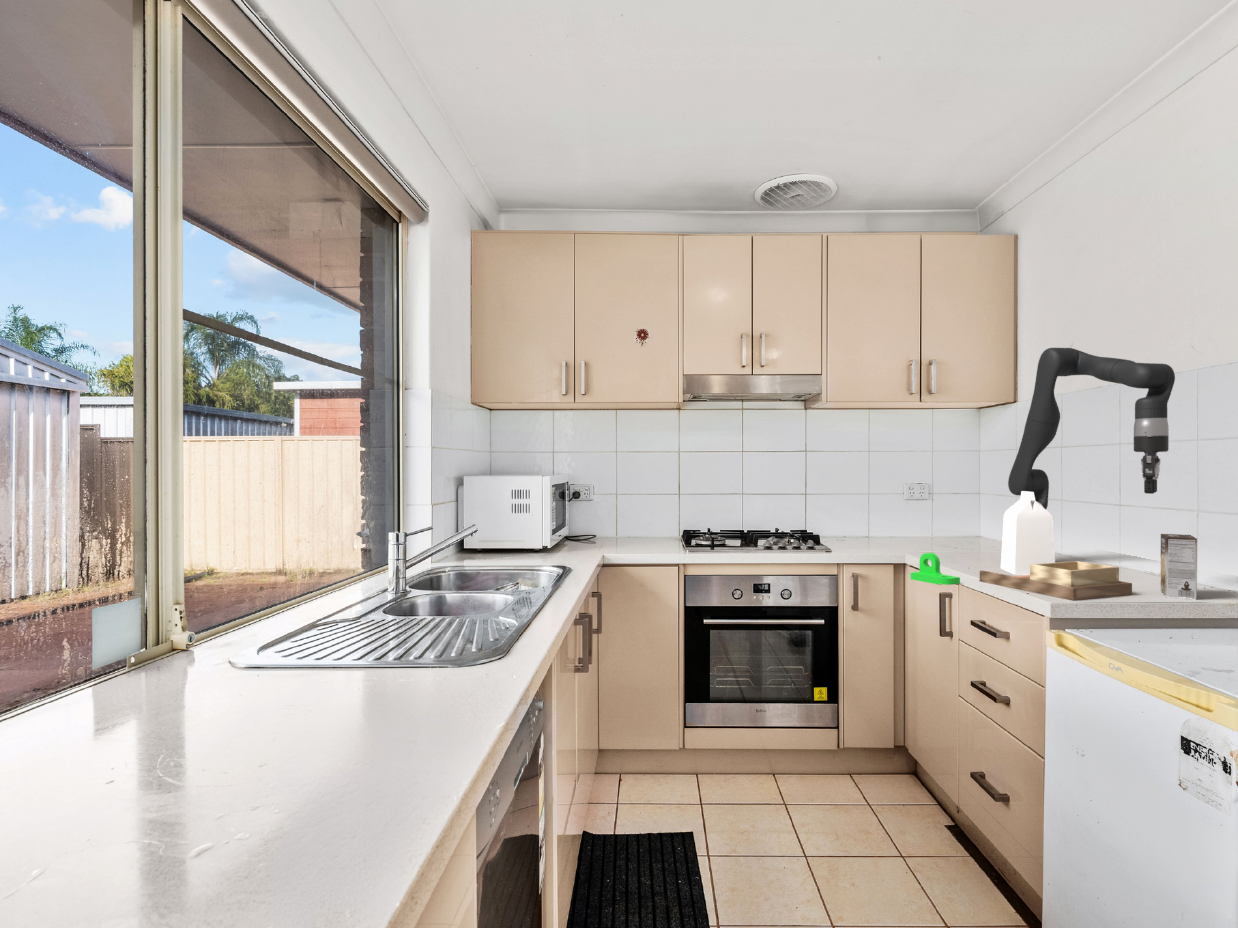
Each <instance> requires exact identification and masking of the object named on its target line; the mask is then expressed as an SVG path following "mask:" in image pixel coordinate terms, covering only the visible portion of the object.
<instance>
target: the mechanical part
mask: <svg viewBox="0 0 1238 928" xmlns="http://www.w3.org/2000/svg"><path fill="white" fill-rule="evenodd" d="M929 561H930V562H931V565H929ZM910 580H912V581H913V580H914V581H918V582H923V583H929V584H932V585H933V584H934V585H940V586H942V585H944V586H945V585H949V586H951V585H959V584H961V577H958V576H953V575H947V574H943V573H942V572H941V561H940V558H939V557H938V555H937V554H935V553H933V552H925V553H923V554H921V556H920V557H919V571H914V572H910Z"/></svg>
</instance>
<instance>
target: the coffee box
mask: <svg viewBox="0 0 1238 928" xmlns="http://www.w3.org/2000/svg"><path fill="white" fill-rule="evenodd" d="M1197 575H1198V538H1196V537H1195V536H1193V535H1191V534H1181V533H1180V534H1176V533H1174V534H1173V533H1160V592H1161V591H1162V592H1161V593H1162V594H1163V593H1164V594H1163V596H1165V595H1166V596H1169V597H1186V598H1192V599H1197V597H1198V595H1197V594H1198V593H1197V592H1198V591H1197V588H1198V587H1197V586H1198V584H1197V583H1198V577H1197ZM1166 596H1165V597H1166ZM1192 599H1191V600H1192Z"/></svg>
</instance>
